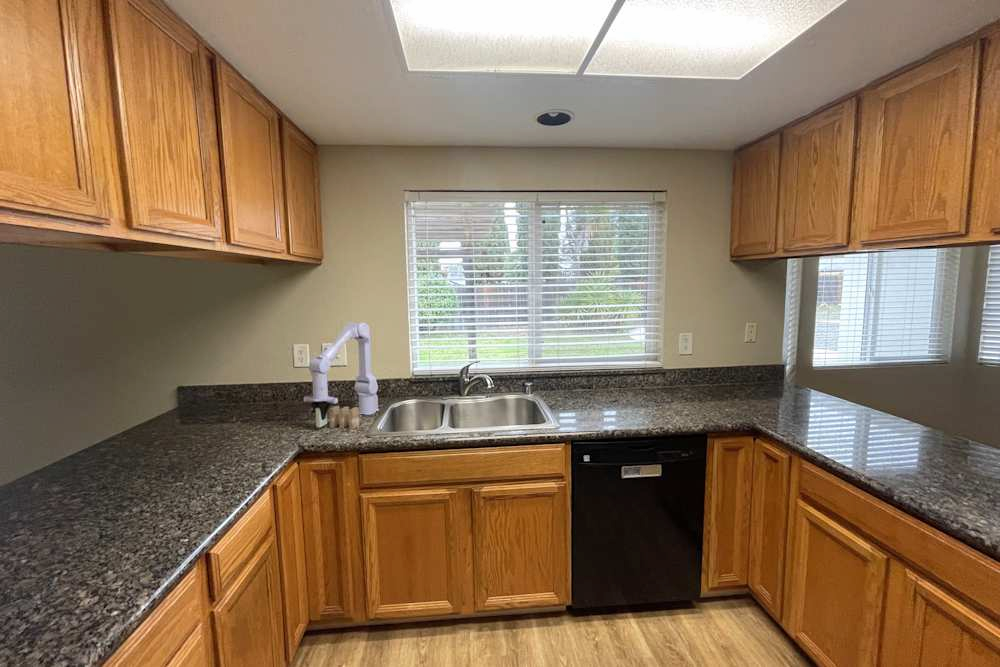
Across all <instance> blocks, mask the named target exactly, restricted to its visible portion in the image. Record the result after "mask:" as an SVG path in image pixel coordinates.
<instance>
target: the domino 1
mask: <svg viewBox="0 0 1000 667" xmlns="http://www.w3.org/2000/svg"><path fill="white" fill-rule="evenodd" d="M315 423H316V425H315V426H316V428H322V427H323V426H325V425H327V424H328V412H327V413H326V418H325V419H323V420H322V418H321V412H320V408H319V407H318V408H316V413H315Z"/></svg>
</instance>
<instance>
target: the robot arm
mask: <svg viewBox="0 0 1000 667" xmlns="http://www.w3.org/2000/svg"><path fill="white" fill-rule="evenodd" d="M341 330H342V331H341V332H340V333H339V335H338V336H337V338H336V339H335V340H334V341H333V343H332V344H329V345H327V346H324V349H323V350H322V351H321V353H319V354H317V357H316V358H312V360H310V362H309V364H308V366H307V367H308V369H309V372H310V375H311V377H312V378H311V379H312V380H311V381H312V395H307V396H304V397H303V402H305V403H307V402H311V403H310V406H311V408H312V409H313V411H314V413H315V414H316V408H318V407H319V408H320V412H321V418H322V420H323V419H325V418H326V413H327V414H328V409H330V408H329V407H330V405H331V404H338V402H339V399H338V397H334V396H330V395H329V390H328V389H329V386H328V372H329V371H330V369H331V365H332V363H333V361H334V360H335V359H336V358H337V357H338V355H339V354H340V349H341V348H342V347H344V345H345V344H346V343H347V342H348V341H349V340H351V339H355V341H357V342H358V344H357V345H358V368H359V369H358V371H359V375H358V376H356V377H355V384H354V390H355V392H356V394H357V395H358V407H359V415H361V414H365V416H371V414H372V415H373V414H375V413H376V411H377V412H378V411H380V410H379V409H380V408H379V397H378V395H377V392H378V389H379V385H378V382H377V377H376V376H374V375H373V373H372V347H371V346H372V345H371V344H372V342H371V334H370V326H369V325H368V324H367V323H365V322H350V321H348V322H346V323H345V324H344V326H342V329H341Z"/></svg>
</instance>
